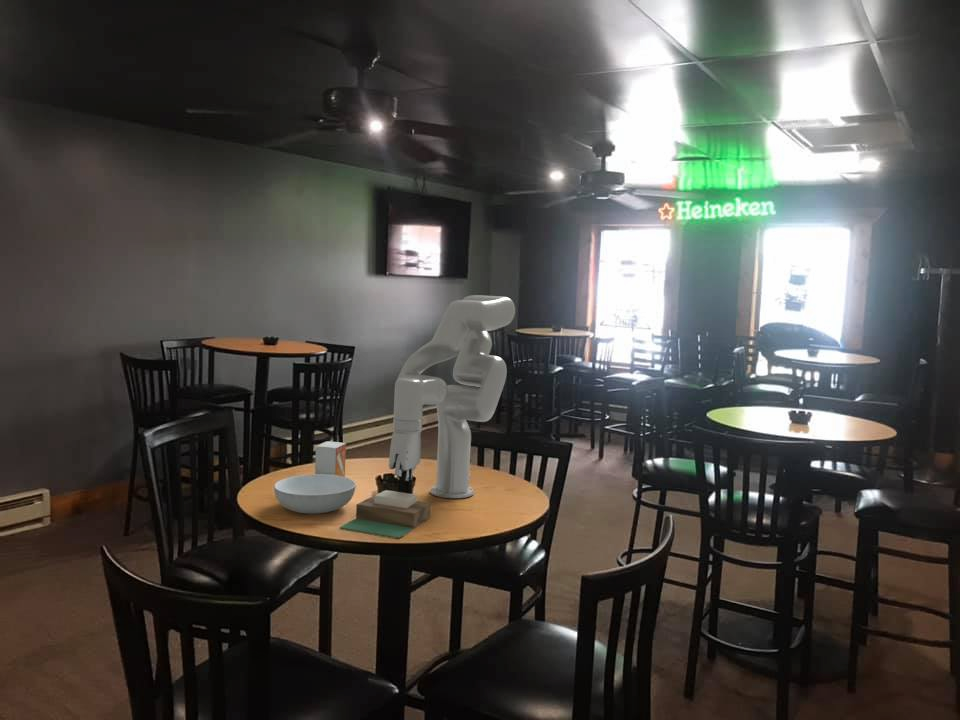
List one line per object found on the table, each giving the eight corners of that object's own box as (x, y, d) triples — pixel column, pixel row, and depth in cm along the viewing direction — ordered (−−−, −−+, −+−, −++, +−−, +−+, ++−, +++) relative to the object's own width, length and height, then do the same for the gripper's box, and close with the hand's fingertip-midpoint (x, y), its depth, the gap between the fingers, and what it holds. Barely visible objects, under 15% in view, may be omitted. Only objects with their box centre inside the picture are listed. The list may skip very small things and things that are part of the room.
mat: (355, 520, 188) (355, 518, 188) (413, 529, 182) (413, 528, 182) (339, 528, 180) (339, 527, 180) (399, 539, 175) (399, 537, 175)
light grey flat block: (385, 497, 195) (385, 490, 195) (416, 502, 192) (416, 494, 191) (374, 503, 189) (374, 495, 189) (406, 508, 186) (406, 500, 186)
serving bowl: (305, 494, 209) (305, 470, 208) (369, 505, 201) (370, 480, 200) (256, 513, 190) (256, 486, 189) (325, 526, 182) (326, 499, 181)
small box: (334, 493, 211) (336, 448, 210) (313, 491, 212) (315, 446, 211) (345, 486, 219) (346, 442, 218) (325, 484, 220) (326, 440, 219)
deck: (374, 509, 197) (375, 494, 197) (429, 518, 192) (430, 503, 191) (356, 519, 188) (356, 504, 187) (413, 529, 182) (414, 513, 182)
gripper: (407, 420, 202) (404, 486, 204) (381, 428, 188) (378, 499, 190) (432, 423, 199) (429, 490, 201) (408, 431, 185) (405, 503, 187)
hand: (404, 494), depth 195 cm, fingers closed
